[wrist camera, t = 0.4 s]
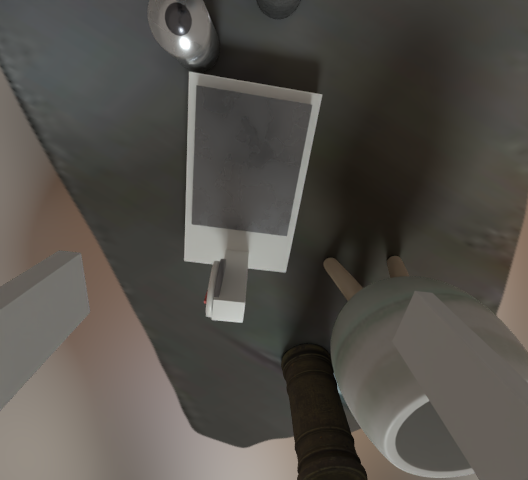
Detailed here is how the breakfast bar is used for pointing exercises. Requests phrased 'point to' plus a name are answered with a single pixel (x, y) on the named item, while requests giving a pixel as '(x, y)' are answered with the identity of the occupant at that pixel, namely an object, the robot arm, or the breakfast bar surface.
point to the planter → (403, 367)
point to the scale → (236, 241)
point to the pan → (246, 160)
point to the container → (319, 417)
